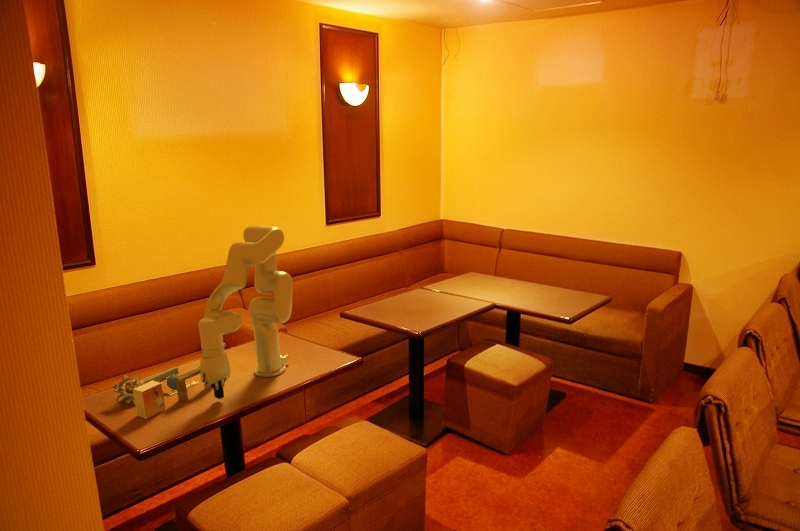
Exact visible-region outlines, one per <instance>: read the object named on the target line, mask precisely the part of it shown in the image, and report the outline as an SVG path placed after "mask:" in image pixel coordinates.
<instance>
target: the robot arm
mask: <svg viewBox="0 0 800 531" xmlns="http://www.w3.org/2000/svg"><path fill="white" fill-rule="evenodd" d="M242 233H243V234H242V235H243V240H244V241H238V242H237V241H236V242H234V243H232V244H231V245H230V247H229V249H228V252H227V253H228V254H227V258H226V262H225V268H224V272H223V278H222V280H221V282H220V283H219V284H218V285H217V286H216V287H215V288H214V290H213V291H212V292H211V294H210V295H209V297H208V300H207V302H206V306H205V310H204V316H203V318H201V319H200V320H199V321H198V331H199V338H200V346H201V347H200V348H201V353H202V356H201V357H200V362H199V367H200V374H199V375H200V381H201V383H203V387H204V388H205V389H211V388H212V389H213V396H214V398H216V399H218V400H222V399H224V398H225V394H224V393H225V392H224V387H225V383H226V381H227V380H228V379H230V377H231V367H230V366H231V365H230V361H229V357H228V354H227V351H226V350H225V348H226V346H227V345H226V343H225V342H224V337H223V335H228V334H231V333H234V332H237V331H238V330H240V328H241V327H242V325H243V317H242V315H240V314H239V313H238V312H235V311H229V310H223V309H222V307H223V305H224V302H225V301H226V299H227V298H228V297H229V296H230V295H232V294H233V293H234V292H237V291H239V290H241V289H243V288H245V287H246V285H247V280H248V275H249V270H250V266H254V281H253V283H254V289H255V291H256V292H258V293H261V294H266V295H274V296H273V297H269V296H256V297H254V298H252V299H251V301H250V302H249V304H248V314H249V318H250V320H251V325H252V328H253V336H254V338H253V339H254V346H255V354H256V363H257V364H256V365H257V366H256V367H255V368H254V371H253V372H254V375H256V376H258V377H262V378H270V377H276V376H279V375H281V374H283V373H284V372H285V371H286V370H287V368H286V367H287V366H286V364H284V363H285V361H288V360H289V359H290V355H289V354H285V355H284V356H283V355H281V349H280V348H281V347H280V337H279V329H278V328H279V327H278V325H277V324H285V323H286V322H288V320H290V318H291V315H292V309H293V294H294V292H293V291H294V283H293V278H292V276H291V275H290V273H288V272H286V271H283V270H282V271H281V270H278V256H277V253H276V252H278V251H279V249H281V248H282V246H283V243H284V242H285V233H284V232H283V230H282V229H280V228H279V227H277V226H263V225H251V226H250V225H249V226H247V227H246V228H244V230H243V232H242Z"/></svg>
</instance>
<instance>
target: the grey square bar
mask: <svg viewBox="0 0 800 531" xmlns="http://www.w3.org/2000/svg"><path fill="white" fill-rule="evenodd" d="M176 373H178V374H179V368H178V367H177V366H173V367H171V368H169V369H166V370H164V371H161V372H158V373H157V374H154V375H152V376H149V377H148V378H145V379H143V380H144V381H145V382H144V383H145V384H146V383H148V382H150V381H152V380H153V381H156V382H157V381H159V380H162V379H164V378H166V377H168V376H171V375H173V374H176ZM176 375H177V374H176ZM166 379H167V378H166ZM164 380H165V379H164ZM162 381H163V380H162Z"/></svg>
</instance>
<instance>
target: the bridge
mask: <svg viewBox="0 0 800 531" xmlns="http://www.w3.org/2000/svg"><path fill="white" fill-rule="evenodd" d="M198 375H201V374H200V366H198V367H196V368H194V369H191V370H189V371H187V372H185V373H182V374H181V375H178V377H175V380H176V387H177V393H176V394H177V397H178V398H177V399H178V401H179V402H182V403H184V402H188V401H189V396H188V390H187V389H188V388H186V381H185V380H187V379H191V378H193V377H195V376H198Z"/></svg>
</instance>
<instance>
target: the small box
mask: <svg viewBox="0 0 800 531" xmlns="http://www.w3.org/2000/svg"><path fill="white" fill-rule="evenodd" d="M162 383H163V382H156V381H153V380H152V381H150V382H148V383H146V384H143V385H141V386H139V387H137V388H134V389H133V394H134V400H135V404H134V405H135V412H136V416H137V417H139V418H143V419H145V420H147V419H150V418H151V417H153V416H155V415H157V414H159V413H162V412H164V411H166V404H165V398H164V393H163V389H162Z"/></svg>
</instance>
